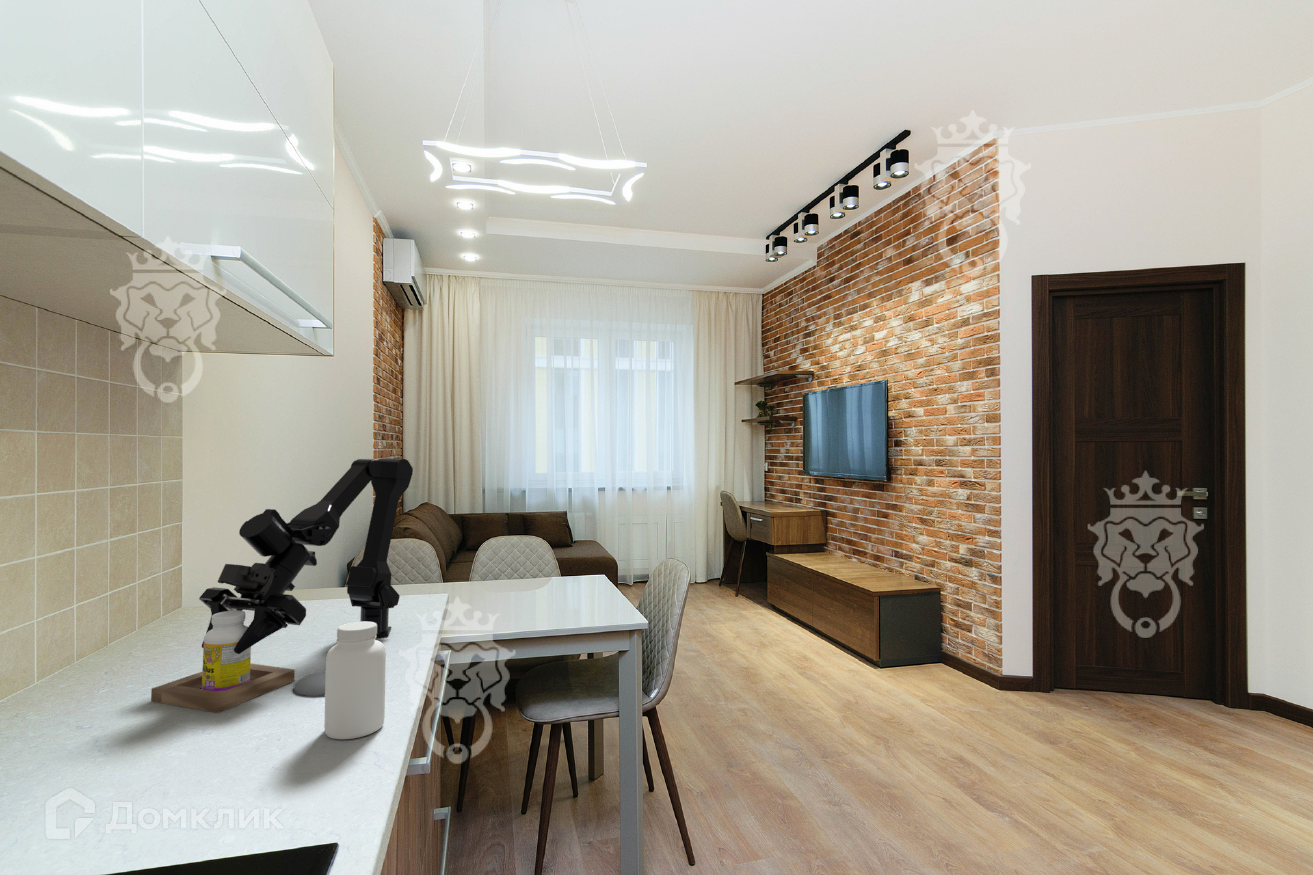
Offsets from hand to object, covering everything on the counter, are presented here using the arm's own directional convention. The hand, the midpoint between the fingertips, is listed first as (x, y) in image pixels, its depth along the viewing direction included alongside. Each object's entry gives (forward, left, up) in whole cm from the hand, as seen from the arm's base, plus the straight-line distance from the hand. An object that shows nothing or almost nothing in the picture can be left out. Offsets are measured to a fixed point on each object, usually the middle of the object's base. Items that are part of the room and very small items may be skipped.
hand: (219, 650), depth 102 cm
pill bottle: (+20, +24, -7) cm, 32 cm away
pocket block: (-1, +1, -7) cm, 7 cm away
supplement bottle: (-1, +1, -7) cm, 7 cm away
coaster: (0, +17, -7) cm, 18 cm away
